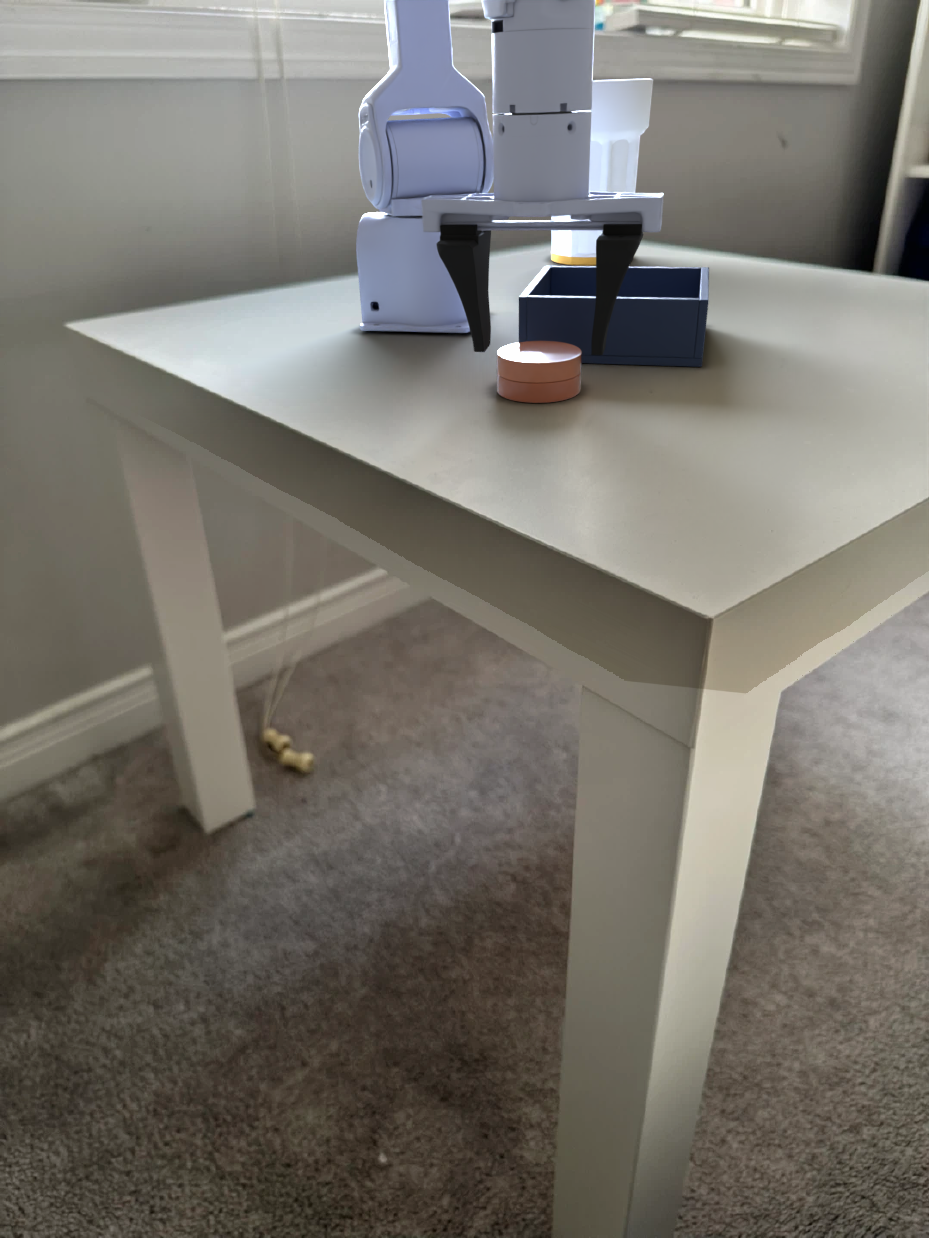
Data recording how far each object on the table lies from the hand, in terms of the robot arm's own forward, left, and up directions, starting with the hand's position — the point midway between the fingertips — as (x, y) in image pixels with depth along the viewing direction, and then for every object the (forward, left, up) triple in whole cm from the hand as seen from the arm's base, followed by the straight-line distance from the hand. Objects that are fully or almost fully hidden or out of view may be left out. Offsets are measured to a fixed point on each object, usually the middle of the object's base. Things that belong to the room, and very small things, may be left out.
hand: (539, 350), depth 60 cm
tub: (+4, +13, -3) cm, 14 cm away
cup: (-2, +50, -3) cm, 50 cm away
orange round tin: (0, 0, -3) cm, 3 cm away
